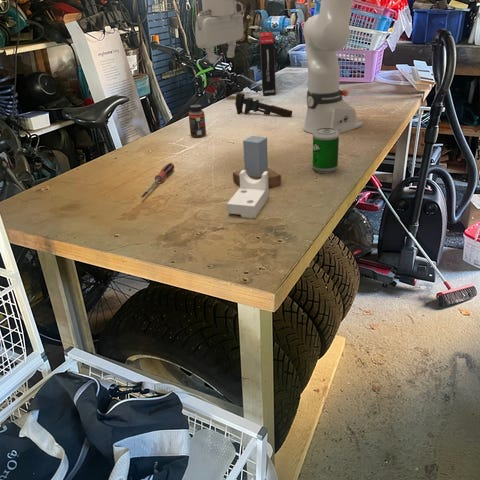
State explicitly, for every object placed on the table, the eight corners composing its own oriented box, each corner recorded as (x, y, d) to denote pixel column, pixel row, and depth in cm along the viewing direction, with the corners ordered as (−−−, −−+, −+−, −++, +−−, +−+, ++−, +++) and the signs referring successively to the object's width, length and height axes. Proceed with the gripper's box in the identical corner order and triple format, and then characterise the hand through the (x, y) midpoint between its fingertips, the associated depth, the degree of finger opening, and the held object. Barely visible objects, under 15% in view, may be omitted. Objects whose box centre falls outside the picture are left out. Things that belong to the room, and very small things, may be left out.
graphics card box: (276, 95, 232) (275, 35, 219) (262, 96, 232) (259, 36, 219) (274, 88, 247) (273, 31, 234) (261, 89, 247) (259, 32, 234)
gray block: (253, 169, 138) (252, 135, 134) (268, 171, 136) (267, 137, 131) (245, 175, 135) (243, 140, 130) (259, 177, 133) (258, 142, 128)
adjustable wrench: (287, 129, 199) (234, 113, 206) (289, 127, 201) (236, 111, 208) (291, 109, 194) (236, 94, 201) (293, 108, 196) (239, 92, 204)
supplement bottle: (204, 138, 178) (201, 107, 173) (188, 138, 179) (185, 107, 174) (208, 133, 183) (205, 103, 178) (193, 133, 185) (190, 103, 179)
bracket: (243, 195, 131) (242, 169, 127) (268, 197, 128) (268, 171, 125) (227, 216, 120) (225, 188, 116) (254, 219, 118) (253, 191, 114)
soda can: (339, 166, 145) (341, 127, 139) (335, 175, 139) (337, 134, 133) (314, 164, 148) (315, 126, 142) (309, 173, 141) (310, 133, 136)
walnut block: (262, 174, 143) (262, 164, 141) (280, 184, 135) (280, 174, 134) (233, 182, 139) (232, 172, 137) (250, 193, 131) (249, 183, 130)
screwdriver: (147, 202, 130) (145, 192, 129) (137, 202, 131) (135, 192, 129) (176, 169, 151) (175, 160, 150) (168, 169, 152) (166, 160, 150)
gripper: (206, 11, 125) (211, 66, 132) (245, 4, 140) (248, 54, 147) (187, 12, 128) (193, 66, 135) (227, 5, 143) (231, 54, 150)
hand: (222, 60), depth 141 cm, fingers open, 8 cm apart
